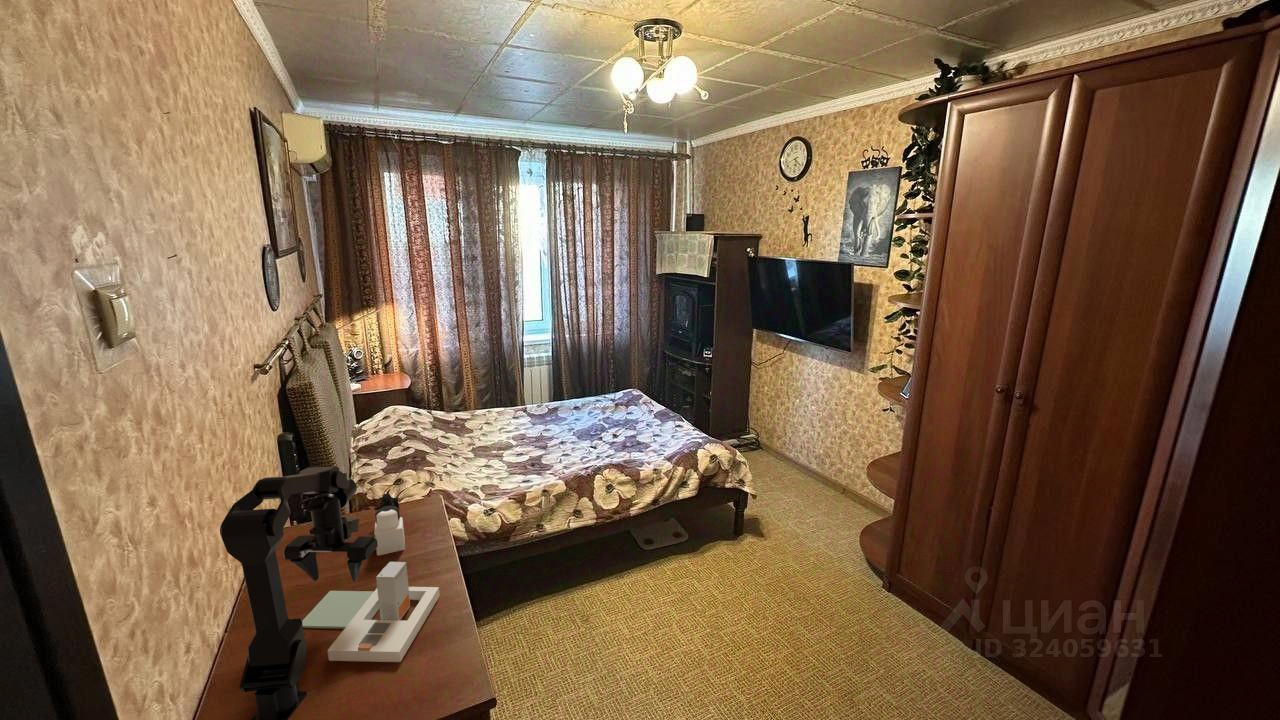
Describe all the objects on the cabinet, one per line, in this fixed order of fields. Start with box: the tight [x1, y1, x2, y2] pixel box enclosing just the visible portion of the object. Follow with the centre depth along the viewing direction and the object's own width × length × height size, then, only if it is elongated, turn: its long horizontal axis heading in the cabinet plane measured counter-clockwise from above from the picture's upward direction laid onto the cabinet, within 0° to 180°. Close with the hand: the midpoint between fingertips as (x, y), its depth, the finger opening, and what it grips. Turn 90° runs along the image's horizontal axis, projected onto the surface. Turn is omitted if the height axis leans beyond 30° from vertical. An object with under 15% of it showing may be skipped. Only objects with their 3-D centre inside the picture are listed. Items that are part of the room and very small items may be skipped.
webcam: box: [374, 492, 402, 517], centre depth 158 cm, size 8×8×10 cm
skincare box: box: [375, 561, 411, 620], centre depth 119 cm, size 6×4×12 cm
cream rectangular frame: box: [327, 586, 440, 663], centre depth 117 cm, size 20×15×3 cm
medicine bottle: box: [373, 506, 406, 556], centre depth 146 cm, size 7×7×12 cm
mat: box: [301, 590, 375, 630], centre depth 122 cm, size 12×12×1 cm
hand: (335, 580), depth 120 cm, fingers open, 9 cm apart
